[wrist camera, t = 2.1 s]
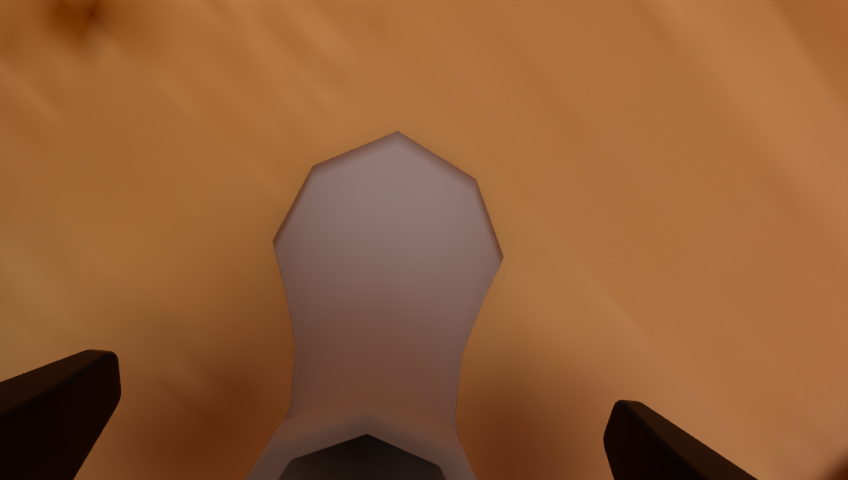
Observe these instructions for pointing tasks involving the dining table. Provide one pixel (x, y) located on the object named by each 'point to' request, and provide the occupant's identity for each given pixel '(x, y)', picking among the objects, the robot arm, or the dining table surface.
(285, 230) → the flask
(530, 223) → the dining table surface
